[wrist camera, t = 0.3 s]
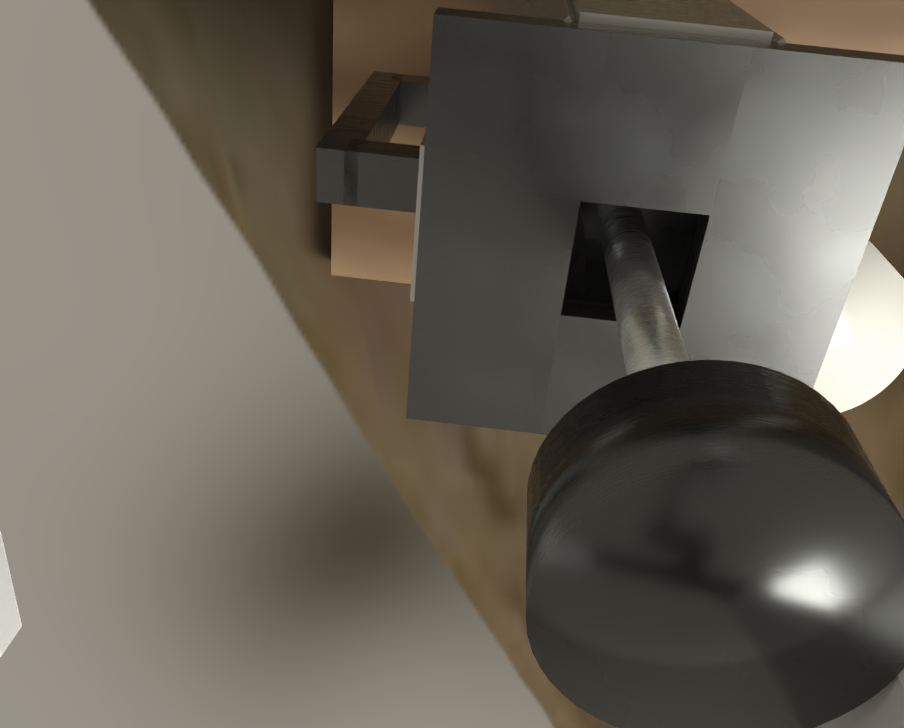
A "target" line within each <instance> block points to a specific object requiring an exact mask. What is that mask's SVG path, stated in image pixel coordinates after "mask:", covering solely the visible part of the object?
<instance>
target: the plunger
mask: <svg viewBox="0 0 904 728" xmlns="http://www.w3.org/2000/svg"><path fill="white" fill-rule="evenodd" d="M698 215H699V214H692V213H683V212H674V211H665V210H655V209H646V208H637V207H628V206H619V205H610V204H601V203H591V202H582V201H580V207H579V213H578V218H577V224H576V230H575V236H574V241H573V247H572V253H571V259H570V264H569V270H568V276H567V282H566V287H565V293H564V298H570V299H579V300H588V301H597V302H606V303H613V305H614V310H615V316H616V321H617V326H618V332H619V337H620V342H621V348H622V353H623V358H624V363H625V369H626V374H627V376H625V377H622V378H620V379H617V380H615V381H613V382H611V383H609V384H607V385H605V386H604V387H602V388H600V389H598V390H596V391H595V392H593V393H592V394H590V395H589V396H587V397H586V398H585V399H583V400H582V401H580V402H579V403H577V404H576V405H575V406H574V407H573V408H572V409H571V410H570V411H569V412H567V413H566V414H565V415H564V416H563V417H562V418H561V419H560V420H559V422H558V423H557V424H556V425H555V426H554V427H553V429H552V430H551V431H550V432H549V434H548V435H547V437H546V438H545V440H544V442H543V443H542V445H541V446H540V448H539V450H538V453H537V455H536V457H535V459H534V462H533V464H532V468H531V471H530V475H529V479H528V487H527V519H526V624H527V635H528V638H529V642H530V645H531V649H532V652H533V654H534V656H535V658H536V660H537V662H538V664H539V666H540V668H541V669H542V671H543V672H544V673H545V675H546V676H547V678H548V679H549V680H550V682H551V683H552V684H553V685H554V686H555V687H556V688H557V689H558V690H559V691H560V692H561V693H562V694H563V695H564V696H565V697H567V698H568V699H569V700H570V701H572V702H573V703H574V704H575V705H577V706H578V707H579V708H581V709H583V710H584V711H586V712H588V713H589V714H591V715H592V716H594V717H596V718H598V719H600V720H602V721H604V722H606V723H609V724H611V725H613V726H615V727H618V728H814V727H817V726H819V725H822V724H824V723H826V722H829V721H831V720H833V719H836V718H838V717H840V716H842V715H844V714H846V713H848V712H849V711H851V710H853V709H855V708H857V707H859V706H860V705H862V704H863V703H865V702H866V701H868V700H869V699H870V698H872V697H873V696H875V695H876V694H878V693H879V692H880V691H881V690H882V689H884V688H885V687H886V686H887V685H888V684H889V683H890V682H892V681H893V680H894V679H895V678H896V677H897V676H898V674H899V673H900V672H901V671H902V670H903V669H904V520H903V518H902V516H901V515H900V513H899V511H898V509H897V508H896V506H895V504H894V502H893V500H892V499H891V497H890V495H889V493H888V492H887V490H886V488H885V486H884V485H883V483H882V481H881V479H880V478H879V476H878V474H877V472H876V471H875V469H874V467H873V465H872V464H871V462H870V460H869V458H868V457H867V455H866V453H865V451H864V449H863V448H862V446H861V444H860V442H859V441H858V439H857V437H856V435H855V434H854V432H853V430H852V429H851V427H850V425H849V424H848V422H847V420H846V419H845V418H844V417H843V415H842V414H841V413H840V412H839V411H838V410H837V408H836V407H835V406H834V405H833V404H832V403H831V402H829V401H828V400H827V399H826V398H825V397H823V396H822V395H821V394H820V393H819V392H817V391H816V390H814V389H813V388H811V387H809V386H808V385H806V384H804V383H803V382H801V381H800V380H797V379H795V378H793V377H791V376H788V375H786V374H784V373H781V372H779V371H776V370H772V369H769V368H766V367H762V366H759V365H754V364H748V363H743V362H737V361H725V360H693V361H689V359H688V355H687V352H686V349H685V346H684V343H683V340H682V337H681V334H680V330H679V327H678V324H677V321H676V318H675V315H674V312H673V308H672V305H671V302H670V299H669V296H668V293H669V292H671V291H673V290H675V289H677V288H678V287H680V286H681V282H682V278H683V274H684V270H685V267H686V263H687V259H688V255H689V251H690V247H691V243H692V239H693V235H694V231H695V227H696V223H697V219H698Z"/></svg>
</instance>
